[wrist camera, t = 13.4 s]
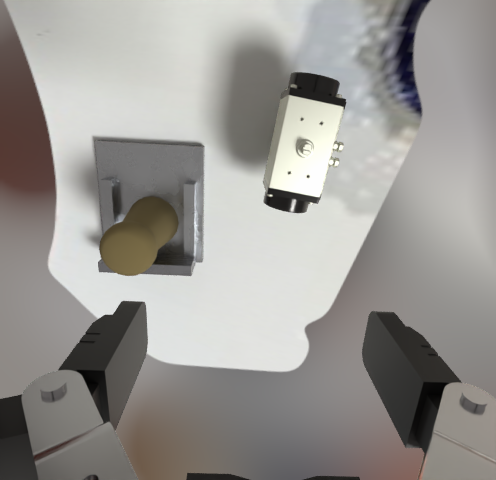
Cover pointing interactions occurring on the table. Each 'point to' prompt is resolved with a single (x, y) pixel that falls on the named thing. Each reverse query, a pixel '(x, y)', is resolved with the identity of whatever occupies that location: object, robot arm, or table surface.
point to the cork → (139, 236)
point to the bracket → (155, 195)
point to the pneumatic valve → (303, 142)
